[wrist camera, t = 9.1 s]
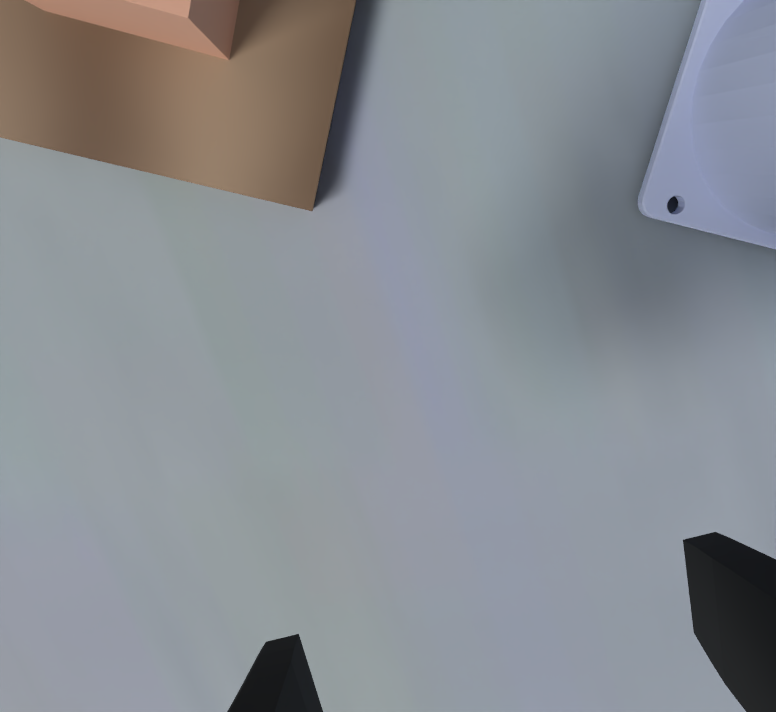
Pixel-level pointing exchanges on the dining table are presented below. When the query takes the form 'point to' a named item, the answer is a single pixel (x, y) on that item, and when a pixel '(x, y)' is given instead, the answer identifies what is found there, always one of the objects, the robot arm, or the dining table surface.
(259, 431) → the dining table surface
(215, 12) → the terracotta block
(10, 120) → the walnut pad
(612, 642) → the dining table surface
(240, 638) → the dining table surface
